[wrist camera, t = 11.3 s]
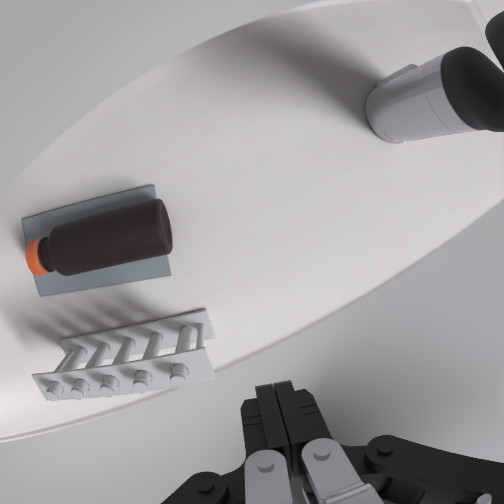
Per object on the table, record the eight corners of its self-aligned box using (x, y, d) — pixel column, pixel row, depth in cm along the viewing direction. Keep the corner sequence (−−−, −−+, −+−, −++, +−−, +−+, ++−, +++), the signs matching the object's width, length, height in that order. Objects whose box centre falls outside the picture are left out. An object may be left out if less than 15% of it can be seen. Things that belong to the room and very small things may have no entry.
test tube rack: (72, 362, 40) (40, 410, 27) (61, 339, 39) (23, 383, 26) (215, 335, 42) (217, 391, 29) (206, 308, 41) (204, 358, 28)
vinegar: (155, 193, 31) (17, 234, 29) (166, 255, 31) (26, 286, 30) (166, 201, 38) (43, 234, 36) (176, 252, 38) (52, 279, 37)
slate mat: (154, 185, 37) (153, 185, 36) (171, 274, 39) (170, 275, 39) (23, 219, 35) (21, 220, 34) (41, 295, 37) (40, 296, 37)
